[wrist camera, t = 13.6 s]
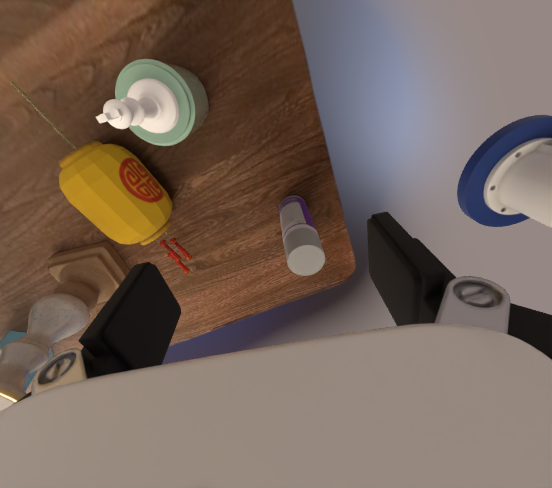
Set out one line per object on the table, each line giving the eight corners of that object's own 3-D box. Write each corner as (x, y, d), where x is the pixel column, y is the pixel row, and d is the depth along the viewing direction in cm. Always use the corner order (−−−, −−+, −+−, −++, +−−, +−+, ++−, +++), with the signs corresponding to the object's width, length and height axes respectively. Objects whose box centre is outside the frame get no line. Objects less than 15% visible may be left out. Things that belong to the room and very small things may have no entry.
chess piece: (188, 124, 27) (154, 142, 19) (145, 139, 28) (95, 162, 19) (164, 70, 25) (113, 63, 16) (118, 87, 25) (45, 89, 17)
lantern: (202, 284, 36) (-20, 57, 22) (156, 299, 40) (-56, 116, 26) (224, 241, 44) (70, 53, 30) (184, 257, 48) (32, 99, 34)
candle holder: (141, 286, 50) (59, 425, 29) (89, 298, 51) (-24, 440, 30) (109, 240, 44) (-21, 372, 24) (51, 254, 45) (-121, 393, 25)
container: (310, 215, 44) (330, 269, 31) (284, 224, 44) (293, 281, 31) (302, 191, 41) (320, 238, 28) (274, 201, 42) (280, 251, 29)
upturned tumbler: (146, 54, 31) (109, 44, 23) (213, 77, 33) (198, 75, 25) (144, 124, 35) (111, 134, 27) (203, 141, 36) (188, 156, 29)
